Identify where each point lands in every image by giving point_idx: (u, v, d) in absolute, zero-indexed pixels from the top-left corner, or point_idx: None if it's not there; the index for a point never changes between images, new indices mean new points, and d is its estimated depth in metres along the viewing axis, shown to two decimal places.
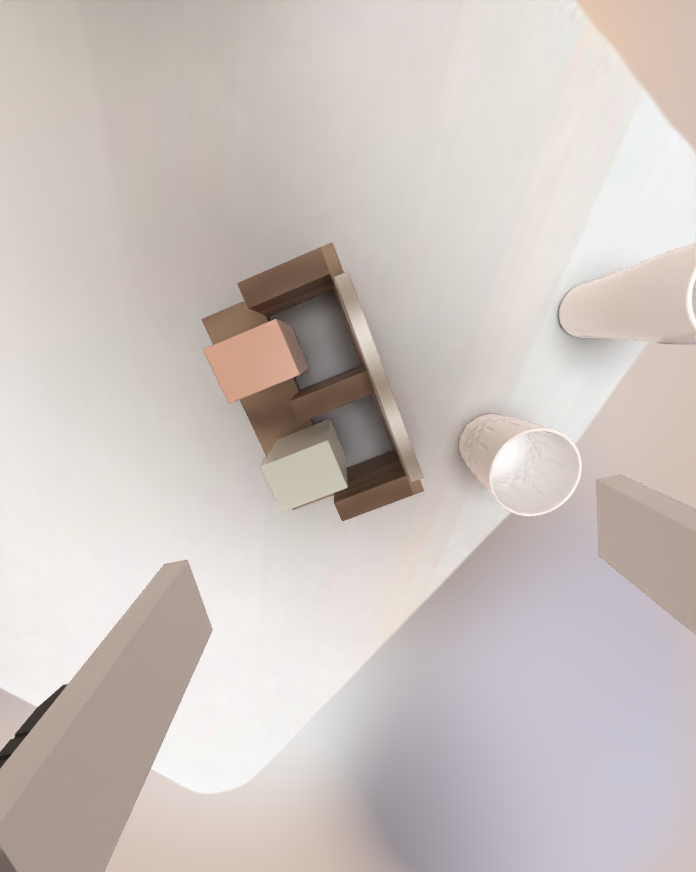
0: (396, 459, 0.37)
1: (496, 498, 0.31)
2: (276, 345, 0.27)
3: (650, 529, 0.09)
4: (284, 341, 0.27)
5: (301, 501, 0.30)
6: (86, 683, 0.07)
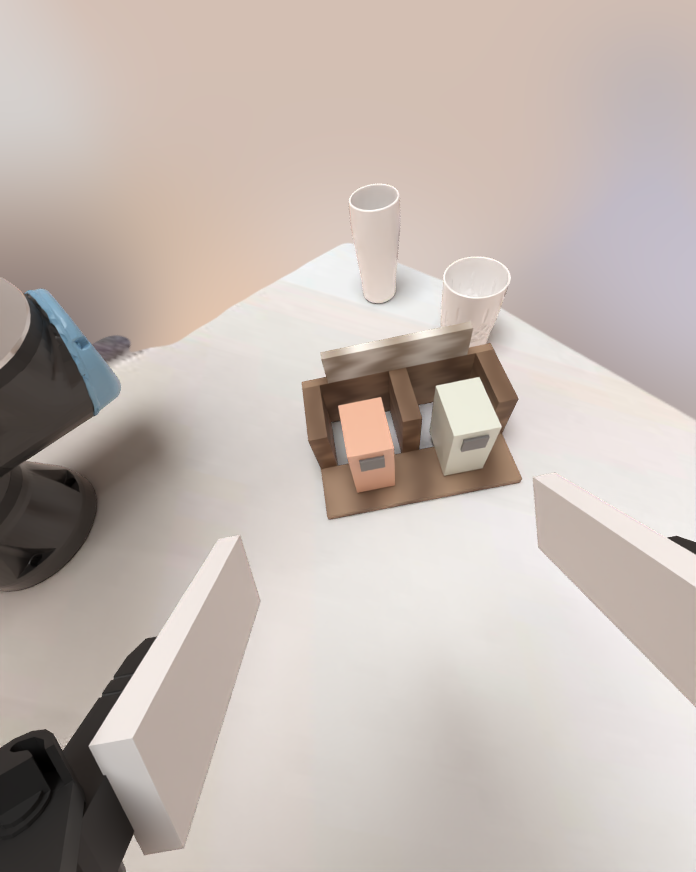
0: None
1: (495, 294, 0.42)
2: (356, 408, 0.36)
3: (570, 521, 0.10)
4: (354, 403, 0.36)
5: (490, 410, 0.34)
6: (176, 631, 0.08)
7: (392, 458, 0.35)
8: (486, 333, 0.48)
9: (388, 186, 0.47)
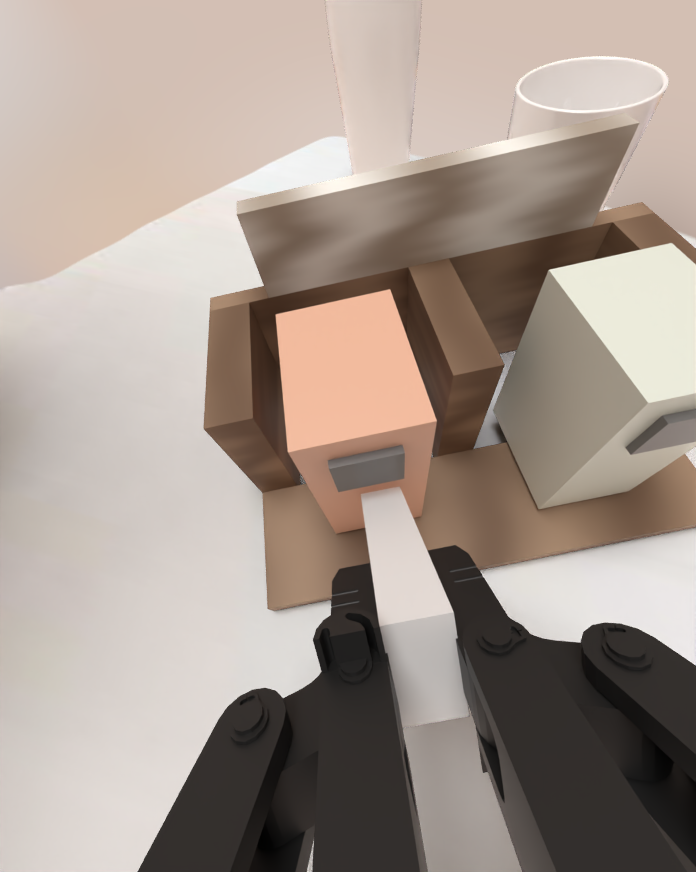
0: None
1: (642, 101, 0.19)
2: (324, 317, 0.13)
3: None
4: (320, 306, 0.13)
5: None
6: (385, 555, 0.09)
7: (426, 454, 0.12)
8: None
9: None
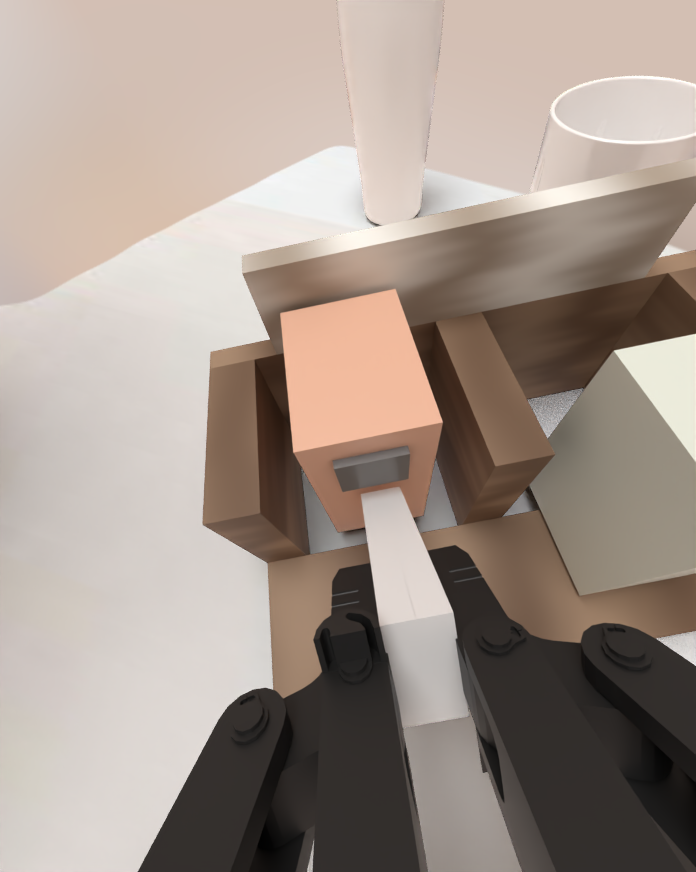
0: (610, 354, 0.19)
1: None
2: (329, 317, 0.13)
3: None
4: (325, 305, 0.13)
5: None
6: (386, 555, 0.09)
7: (430, 454, 0.12)
8: None
9: None
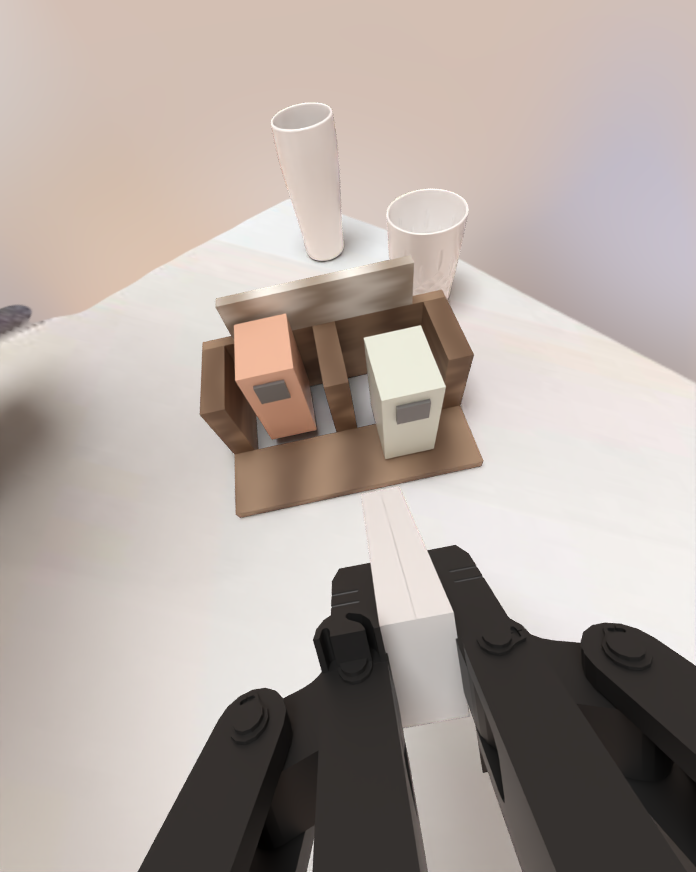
0: None
1: (448, 229, 0.33)
2: (255, 326, 0.29)
3: None
4: (254, 321, 0.29)
5: (432, 366, 0.25)
6: (386, 555, 0.09)
7: (297, 385, 0.28)
8: (444, 286, 0.39)
9: (320, 105, 0.38)
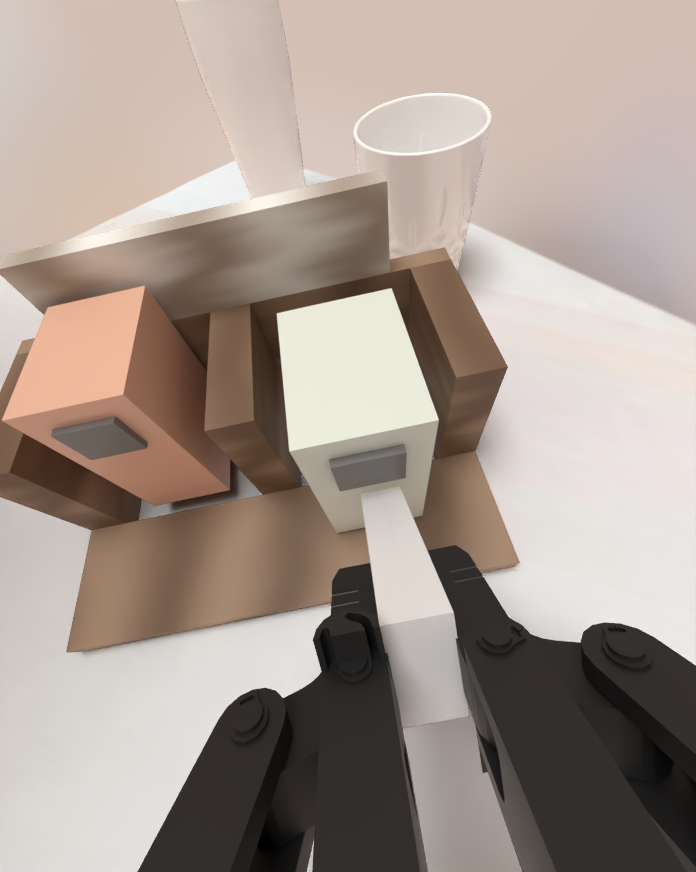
0: None
1: (456, 145, 0.19)
2: (82, 310, 0.15)
3: None
4: (85, 300, 0.15)
5: (410, 371, 0.11)
6: (386, 555, 0.09)
7: (152, 426, 0.14)
8: None
9: None
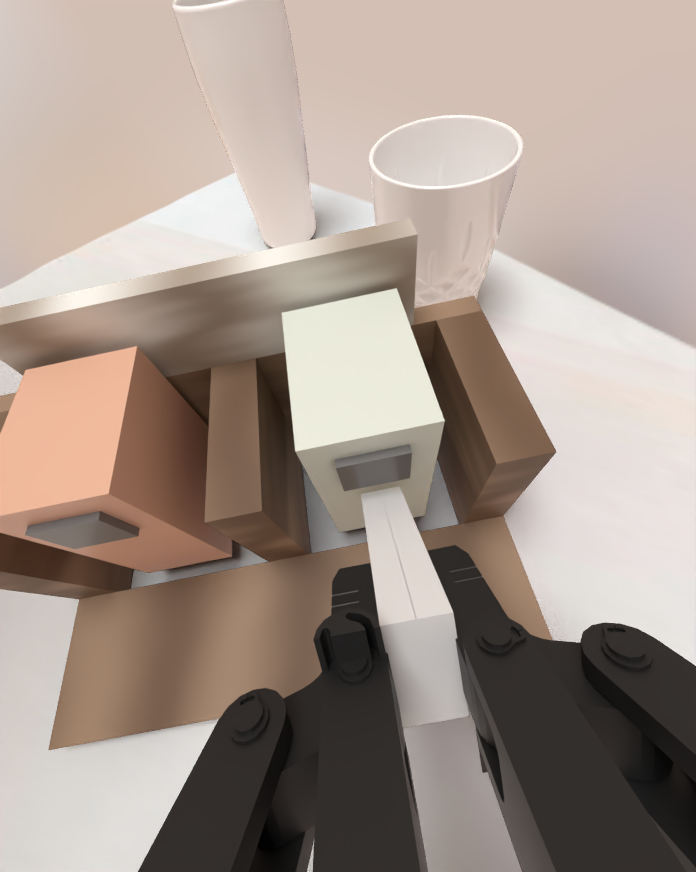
0: None
1: (485, 178, 0.17)
2: (65, 375, 0.13)
3: None
4: (68, 363, 0.14)
5: (416, 372, 0.11)
6: (386, 555, 0.09)
7: (144, 515, 0.12)
8: (470, 289, 0.23)
9: None
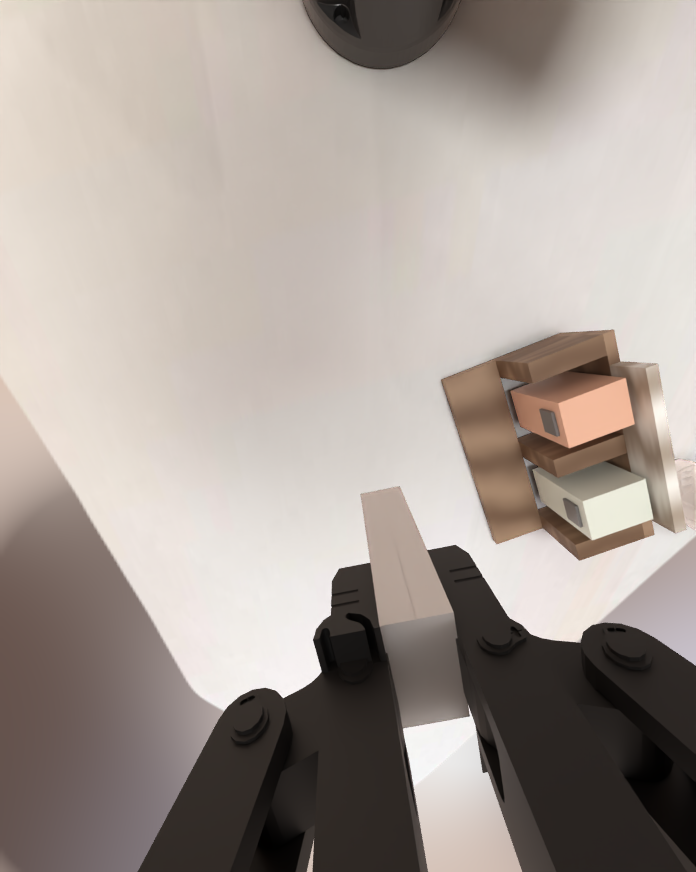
0: None
1: None
2: (621, 400, 0.31)
3: None
4: (628, 396, 0.31)
5: (611, 530, 0.34)
6: (385, 555, 0.09)
7: (555, 440, 0.34)
8: None
9: None
